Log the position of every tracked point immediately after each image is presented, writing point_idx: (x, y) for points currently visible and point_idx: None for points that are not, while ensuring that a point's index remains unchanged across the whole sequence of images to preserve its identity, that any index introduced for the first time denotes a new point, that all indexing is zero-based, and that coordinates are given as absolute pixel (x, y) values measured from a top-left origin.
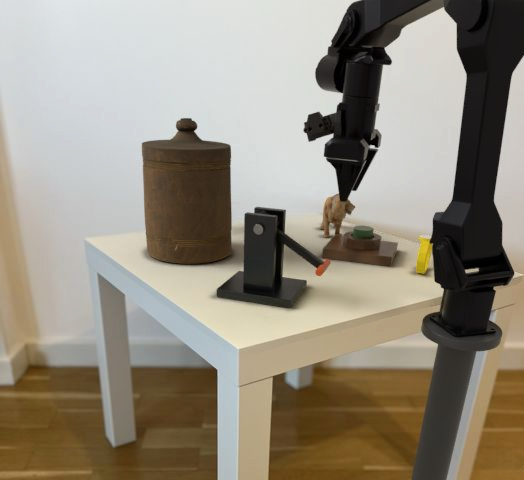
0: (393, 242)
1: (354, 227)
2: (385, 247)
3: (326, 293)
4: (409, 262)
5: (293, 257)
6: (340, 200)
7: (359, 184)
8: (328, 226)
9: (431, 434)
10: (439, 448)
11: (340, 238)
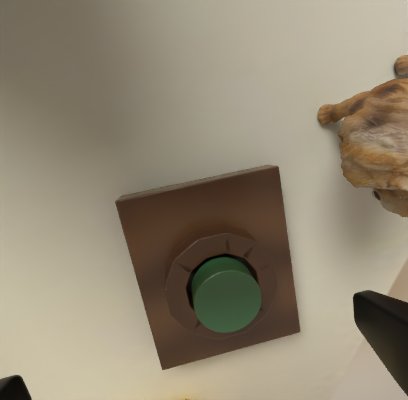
0: (293, 324)
1: (216, 277)
2: None
3: None
4: (222, 367)
5: (70, 125)
6: (1, 382)
7: (391, 372)
8: (346, 114)
9: None
10: None
11: (251, 197)
